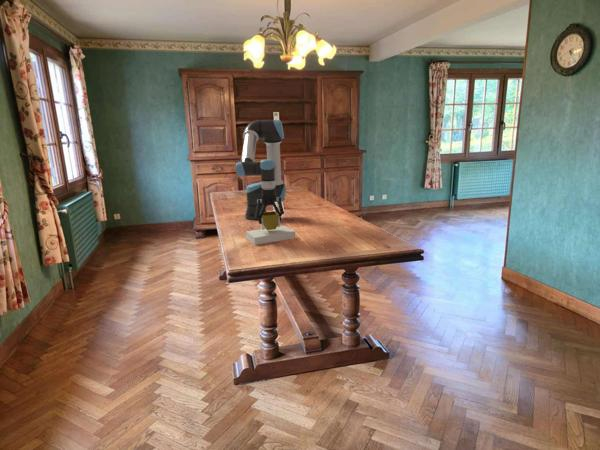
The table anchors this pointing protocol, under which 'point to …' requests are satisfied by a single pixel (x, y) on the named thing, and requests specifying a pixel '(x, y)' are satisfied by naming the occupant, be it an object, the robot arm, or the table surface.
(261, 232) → the white stand
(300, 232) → the table surface
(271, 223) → the flower pot
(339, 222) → the table surface
